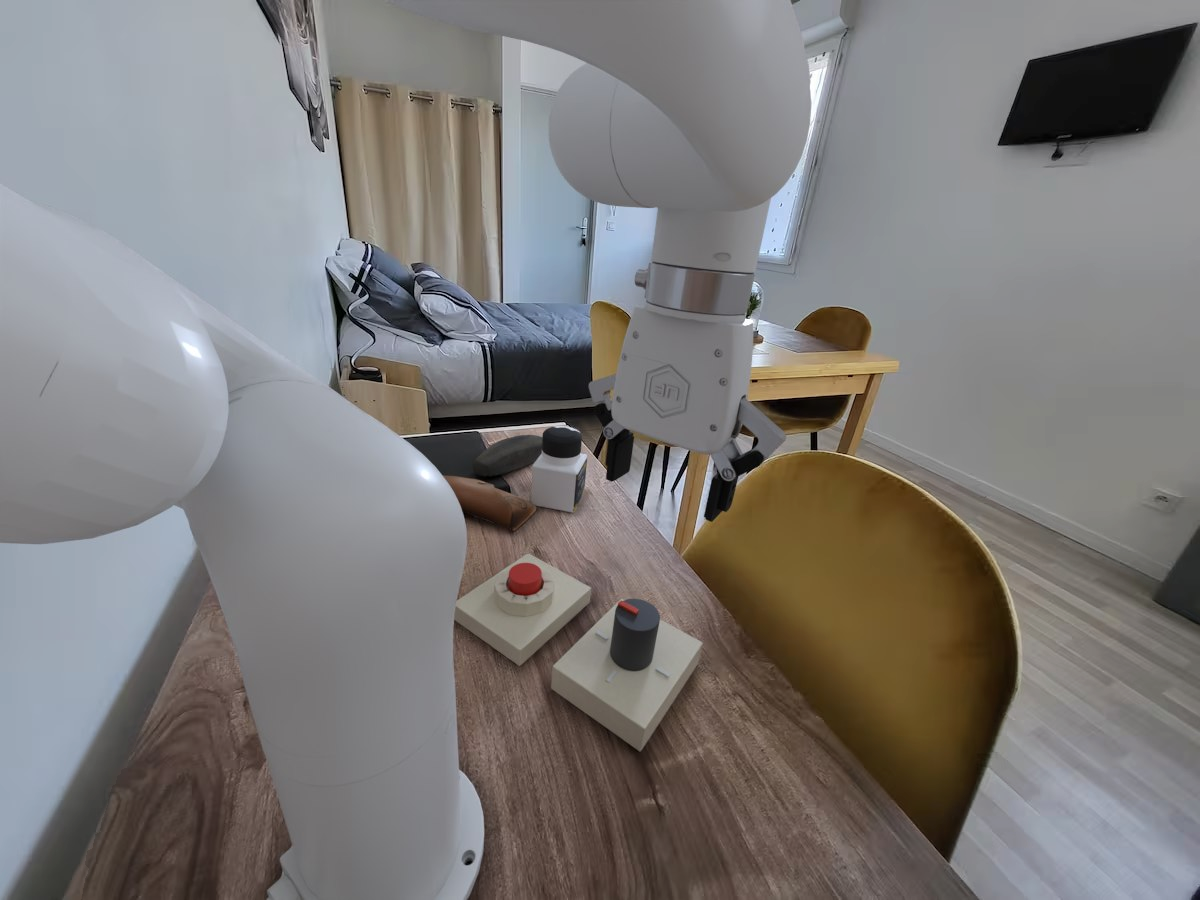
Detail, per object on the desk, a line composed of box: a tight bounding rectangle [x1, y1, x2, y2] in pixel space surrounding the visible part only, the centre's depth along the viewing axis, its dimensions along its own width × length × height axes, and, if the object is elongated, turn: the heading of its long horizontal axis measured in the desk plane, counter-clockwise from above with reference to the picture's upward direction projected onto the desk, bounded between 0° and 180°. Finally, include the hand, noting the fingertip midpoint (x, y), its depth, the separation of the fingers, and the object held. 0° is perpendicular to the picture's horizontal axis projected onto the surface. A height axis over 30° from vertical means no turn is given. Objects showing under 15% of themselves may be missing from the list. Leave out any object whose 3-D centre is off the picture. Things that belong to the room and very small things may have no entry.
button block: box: [454, 552, 592, 667], centre depth 54 cm, size 12×10×4 cm
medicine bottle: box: [530, 425, 588, 514], centre depth 76 cm, size 7×7×12 cm
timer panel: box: [550, 598, 704, 752], centre depth 48 cm, size 12×10×3 cm
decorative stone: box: [472, 434, 542, 478], centre depth 88 cm, size 17×6×4 cm, turn 151°
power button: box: [508, 563, 542, 596], centre depth 53 cm, size 4×4×2 cm
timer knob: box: [610, 598, 661, 671], centre depth 46 cm, size 4×4×5 cm
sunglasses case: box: [442, 475, 538, 532], centre depth 74 cm, size 18×7×7 cm, turn 67°
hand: (663, 494), depth 43 cm, fingers open, 9 cm apart
